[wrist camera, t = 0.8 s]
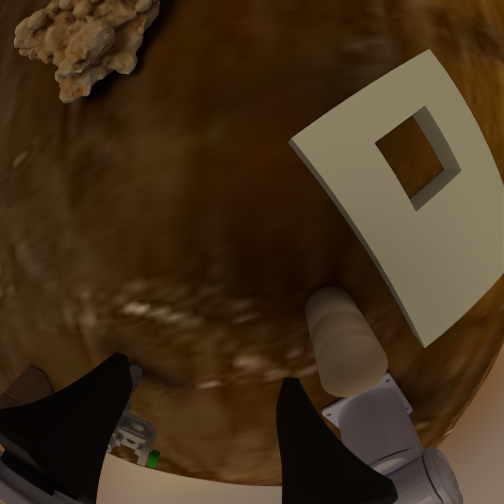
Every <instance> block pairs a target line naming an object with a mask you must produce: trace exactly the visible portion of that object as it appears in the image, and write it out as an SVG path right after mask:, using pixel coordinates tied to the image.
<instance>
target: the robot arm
mask: <svg viewBox="0 0 504 504" xmlns="http://www.w3.org/2000/svg"><path fill="white" fill-rule="evenodd" d="M387 379H388V380H387ZM132 388H133V381H132V377H131V373H130V368H129V363H128V358H127V355H123V354H119V353H115V354H113V355H112V356H110V357H109V358H108V359H106V360H105V361H104V362H102V363H101V364H100V365H98V366H97V367H96V368H94V369H93V370H92V371H90V372H89V373H87V374H86V375H85V376H83V377H82V378H80V379H79V380H77V381H76V382H74V383H72V384H71V385H69V386H68V387H66V388H64V389H62V390H60V391H58V392H56V393H54V394H52V395H50V396H47V397H45V398H42V399H40V400H37V401H34V402H31V403H28V404H24V405H20V406H15V407H9V408H3V409H0V444H1V445H2V446H3V448H4V449H5V451H4V452H3V453H2V451H0V501H1V502H2V503H3V504H96V498H97V490H98V484H99V479H100V474H101V469H102V465H103V461H104V458H105V454H106V451H107V448H108V444H109V442H110V439H111V437H112V434H113V432H114V430H115V428H116V426H117V424H118V422H119V420H120V418H121V416H122V414H123V411H124V409H125V407H126V405H127V403H128V400H129V397H130V394H131V391H132ZM412 411H413V409H412V407H411V406H410V404H409V403H408V401H407V399H406V398H405V396H404V395H403V393H402V392H401V390H400V389H399V387H398V386H397V384H396V383H395V381H394V380H393V378H392V377H391V375H390V374H389V373H385V374H384V376H383V377H382V379H381V380H380V381H379V382H378V383H377V384H376V385H375V386H374V387H373V388H371V389H370V390H368V391H366V392H364V393H362V394H359V395H356V396H352V397H344V398H343V399H341V400H339V401H337V402H335V403H333V404H332V405H330V406H328V407H326V408H324V409H323V410H322V414H323V415H324V416H325V417H326V418H327V419H328V420H330V421H331V422H332V423H333V424H334V425H335V426H337V427H338V428H339V429H340V433H341V438H342V442H343V443H342V442H341V441H340V440H339V439H338V438H337V437H336V436H335V435H334V433H333V432H332V431H331V430H330V429H329V427H328V426H327V425H326V423H325V422H324V421H323V419H322V418H321V416H320V415H319V413H318V412H317V410H316V409H315V407H314V406H313V404H312V403H311V401H310V399H309V397H308V396H307V394H306V392H305V390H304V388H303V386H302V385H301V383H300V380H299V379H298V378H284V380H283V384H282V387H281V391H280V395H279V399H278V402H277V406H276V423H277V433H278V441H279V448H280V456H281V463H282V504H463V497H462V494H461V492H460V490H459V486H458V483H457V480H456V477H455V474H454V472H453V470H452V468H451V466H450V464H449V462H448V461H447V460H446V458H445V456H444V455H443V453H442V452H441V451H440V450H439V449H433V448H428V449H427V450H424V449H423V446H422V444H421V442H420V440H419V437H418V435H417V433H416V431H415V428H414V426H413V424H412V422H411V420H410V418H409V416H408V414H410V413H411V412H412Z"/></svg>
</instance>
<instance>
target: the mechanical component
mask: <svg viewBox="0 0 504 504" xmlns="http://www.w3.org/2000/svg"><path fill="white" fill-rule="evenodd" d="M130 373H131V377H132V381H133V388H132V391H131V394H130V397H131V395H132V393H133V392H134V390H135V388H136V386H137V385H138V383H139V381H140V379H141V376H142V374H143V370H142V369H141V368H140V367H139V366H137V365H132V366H130ZM130 397H129V399H130ZM131 407H132V404H131V402H130V400H128V403H127V405H126V407H125V409H124V411H123V414H122V416H121V418H120V420H119V422H118V424H117V426H116V428H115V430H114V432H113V434H112V437H111V439H110V442H109V444H108V448H107V451H106V452H111V450H112V448H113V447H115V445H117V446H120V445H121V443H122V444H124V445H126V446H128V447H130V448H132V449H134V450H136V451H135V454H137V455H139V459H138V462H137V464H140V465H142V466H145V464H146V461H149V462H148V464H147V465H149V466H151V467H154V468H155V466H156V463H157V461H158V458H159V455H160V452H158V451H156V450H153V451H152V453H151V452H150V451H151V448H152V445H153V442H154V440H155V437H156V430H155V427H154V426H153V425H152V424H151V423H150V422H149V421H147V420H145V419H142V418H140V417H138V416H136V415H134V414H132V413H130V412H128V410H130V409H131ZM128 438H129V439H132V440H133V441H134V442H133V441H131V440H129V439H128Z"/></svg>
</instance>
